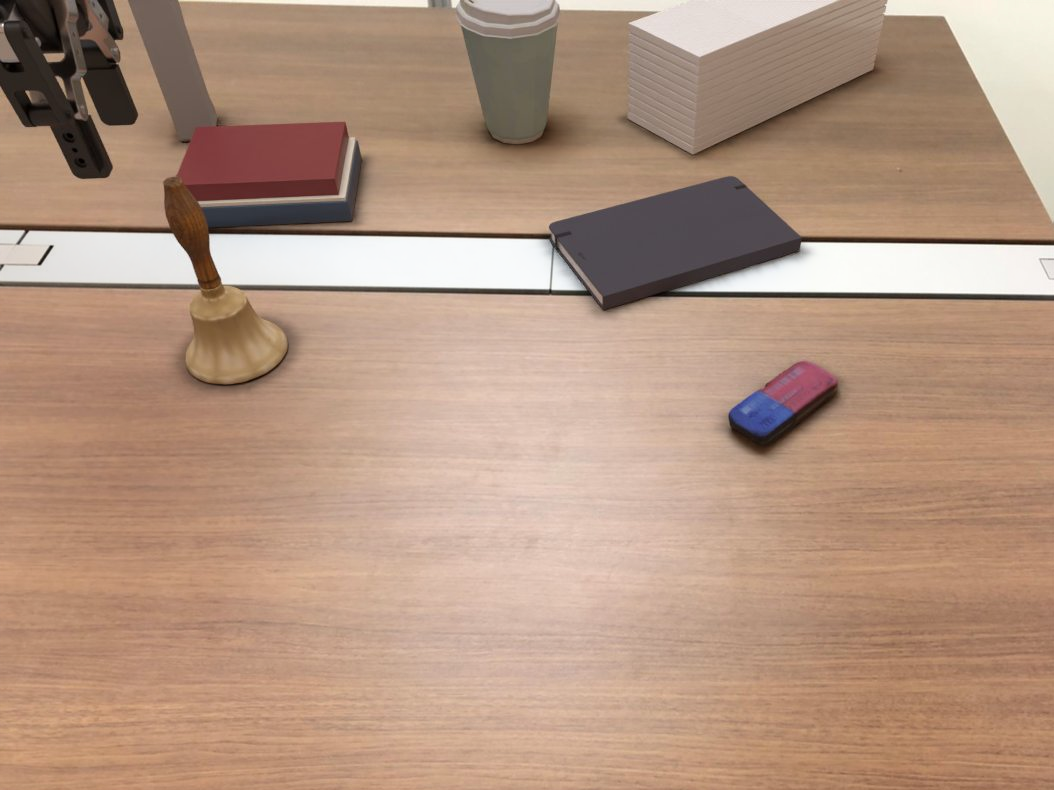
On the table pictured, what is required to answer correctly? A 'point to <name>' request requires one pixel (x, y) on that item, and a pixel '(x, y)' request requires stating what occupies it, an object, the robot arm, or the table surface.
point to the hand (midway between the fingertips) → (108, 147)
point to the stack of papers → (742, 62)
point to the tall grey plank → (174, 64)
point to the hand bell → (218, 305)
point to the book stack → (273, 173)
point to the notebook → (671, 240)
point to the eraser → (783, 402)
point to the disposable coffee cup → (511, 62)
